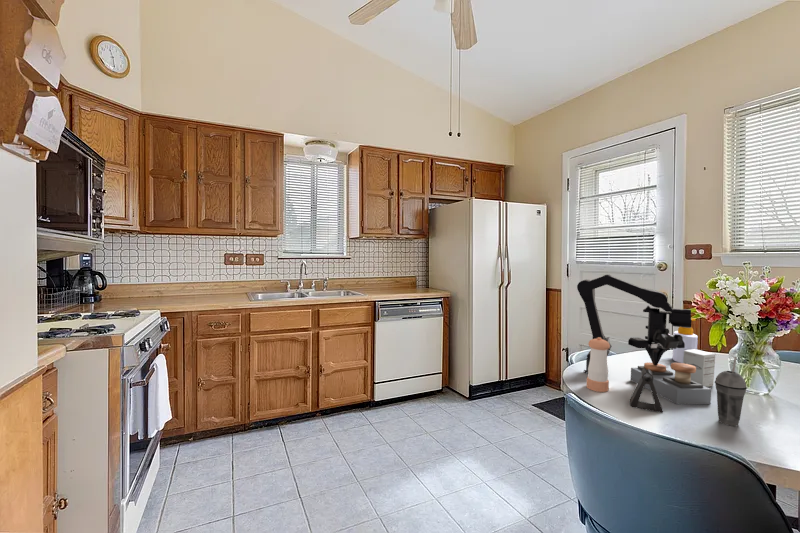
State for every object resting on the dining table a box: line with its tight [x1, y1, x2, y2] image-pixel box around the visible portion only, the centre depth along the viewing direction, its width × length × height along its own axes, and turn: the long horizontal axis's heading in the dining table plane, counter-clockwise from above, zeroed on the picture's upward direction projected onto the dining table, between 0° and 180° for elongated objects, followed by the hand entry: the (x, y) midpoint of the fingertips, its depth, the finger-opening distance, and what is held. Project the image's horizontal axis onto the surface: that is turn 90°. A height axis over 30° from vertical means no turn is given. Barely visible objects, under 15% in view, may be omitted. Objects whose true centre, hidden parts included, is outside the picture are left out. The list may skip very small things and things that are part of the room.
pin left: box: [643, 362, 667, 372], centre depth 144 cm, size 7×7×6 cm
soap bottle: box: [672, 318, 699, 363], centre depth 175 cm, size 13×8×20 cm, turn 164°
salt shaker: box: [586, 337, 611, 393], centre depth 139 cm, size 7×7×19 cm
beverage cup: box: [714, 356, 748, 427], centre depth 112 cm, size 7×7×20 cm
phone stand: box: [629, 368, 664, 414], centre depth 123 cm, size 9×6×12 cm, turn 60°
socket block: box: [630, 365, 712, 405], centre depth 137 cm, size 12×23×6 cm, turn 3°
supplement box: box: [683, 348, 716, 388], centre depth 145 cm, size 7×7×13 cm
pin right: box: [670, 362, 696, 384], centre depth 131 cm, size 7×7×6 cm
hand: (655, 364), depth 144 cm, fingers closed
